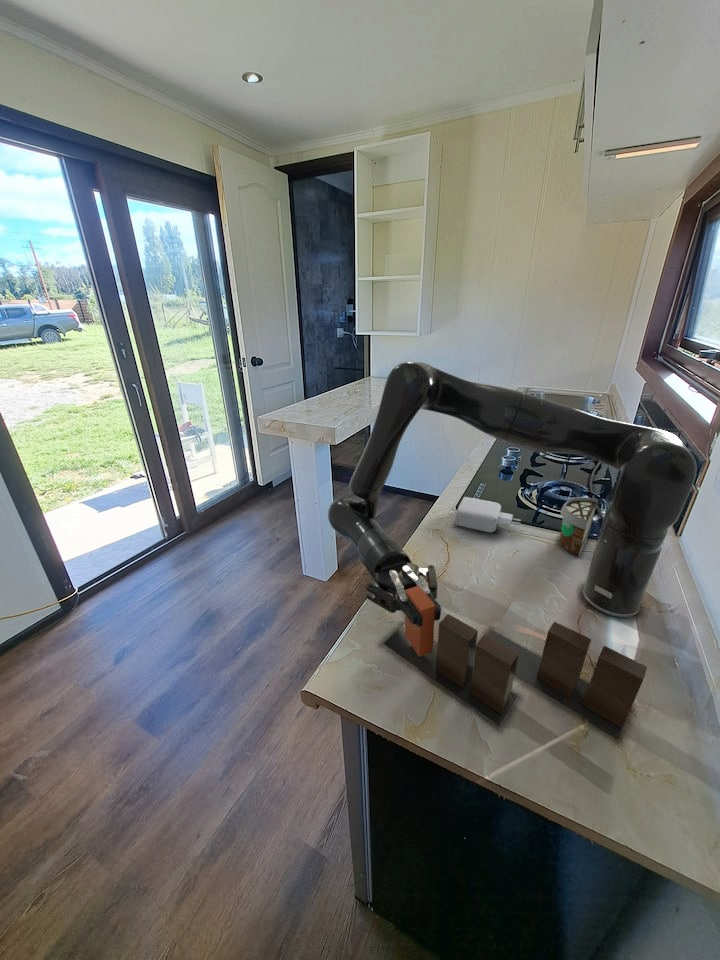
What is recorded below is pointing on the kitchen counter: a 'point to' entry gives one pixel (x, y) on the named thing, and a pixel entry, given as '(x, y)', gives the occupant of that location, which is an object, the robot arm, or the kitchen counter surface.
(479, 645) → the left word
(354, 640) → the kitchen counter surface
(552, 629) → the brown notched block
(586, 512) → the food container
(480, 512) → the charger
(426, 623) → the orange upright brick
